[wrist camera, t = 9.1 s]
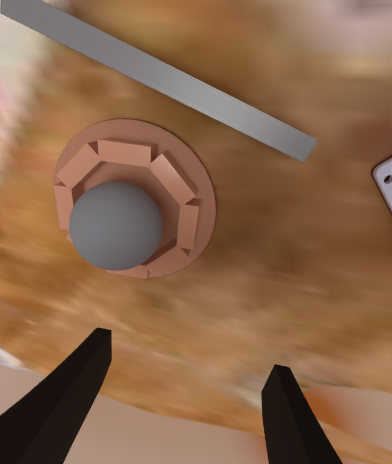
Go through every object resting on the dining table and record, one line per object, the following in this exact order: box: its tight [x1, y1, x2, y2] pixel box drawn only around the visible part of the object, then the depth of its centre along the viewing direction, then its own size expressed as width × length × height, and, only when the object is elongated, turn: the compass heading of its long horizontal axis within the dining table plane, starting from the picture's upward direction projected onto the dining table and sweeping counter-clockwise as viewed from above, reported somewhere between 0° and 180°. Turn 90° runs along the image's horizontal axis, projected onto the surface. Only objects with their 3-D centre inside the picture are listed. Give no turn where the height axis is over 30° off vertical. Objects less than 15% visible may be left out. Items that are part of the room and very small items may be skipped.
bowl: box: [53, 119, 216, 279], centre depth 17 cm, size 12×12×2 cm
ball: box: [69, 181, 163, 271], centre depth 15 cm, size 6×6×6 cm
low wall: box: [0, 0, 318, 163], centre depth 13 cm, size 16×1×3 cm, turn 66°
